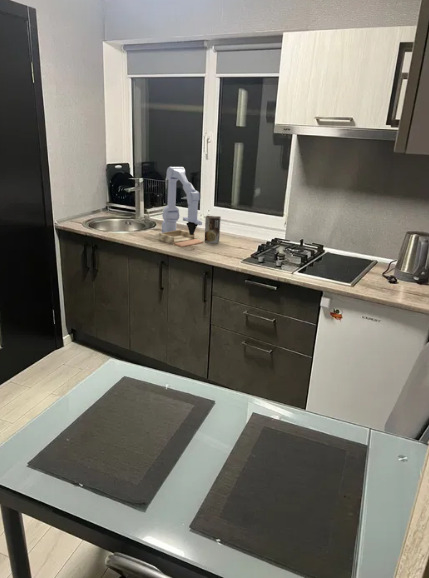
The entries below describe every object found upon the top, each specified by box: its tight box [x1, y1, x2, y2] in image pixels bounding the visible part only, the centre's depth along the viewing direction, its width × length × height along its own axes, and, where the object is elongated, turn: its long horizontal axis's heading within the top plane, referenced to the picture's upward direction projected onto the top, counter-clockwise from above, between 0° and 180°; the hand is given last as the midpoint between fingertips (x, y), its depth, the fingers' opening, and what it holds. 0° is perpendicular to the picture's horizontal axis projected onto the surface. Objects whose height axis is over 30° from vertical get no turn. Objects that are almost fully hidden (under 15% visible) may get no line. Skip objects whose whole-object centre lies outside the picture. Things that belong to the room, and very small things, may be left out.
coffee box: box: [203, 215, 222, 244], centre depth 266 cm, size 9×6×16 cm
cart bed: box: [158, 229, 196, 245], centre depth 266 cm, size 13×18×4 cm
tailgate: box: [173, 238, 204, 248], centre depth 260 cm, size 1×18×6 cm
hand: (191, 234), depth 257 cm, fingers closed
